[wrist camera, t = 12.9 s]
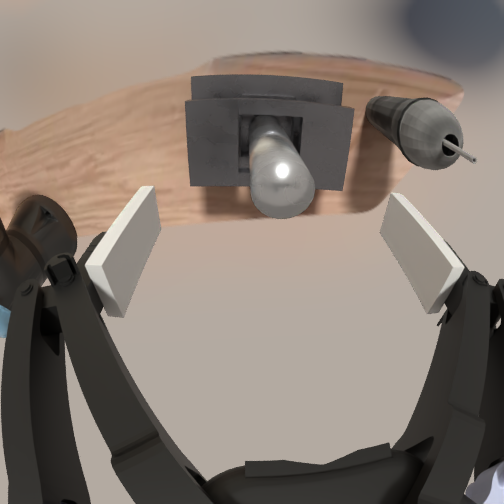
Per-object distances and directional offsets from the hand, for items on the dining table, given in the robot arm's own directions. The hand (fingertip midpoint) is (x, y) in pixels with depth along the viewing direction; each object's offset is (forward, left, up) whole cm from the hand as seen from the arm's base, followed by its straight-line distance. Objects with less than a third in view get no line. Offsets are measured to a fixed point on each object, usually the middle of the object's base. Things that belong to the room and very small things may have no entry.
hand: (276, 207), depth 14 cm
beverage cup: (+15, +4, -22) cm, 27 cm away
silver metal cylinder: (0, 0, -21) cm, 21 cm away
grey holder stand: (0, 0, -22) cm, 22 cm away
